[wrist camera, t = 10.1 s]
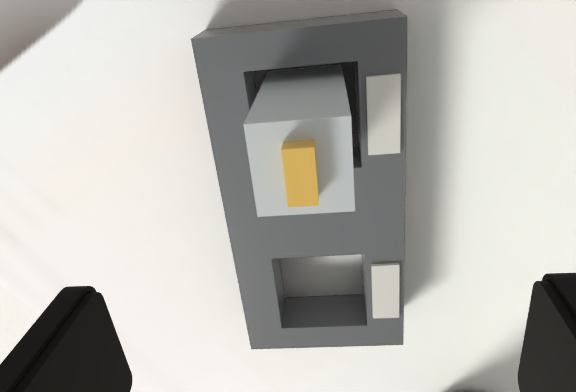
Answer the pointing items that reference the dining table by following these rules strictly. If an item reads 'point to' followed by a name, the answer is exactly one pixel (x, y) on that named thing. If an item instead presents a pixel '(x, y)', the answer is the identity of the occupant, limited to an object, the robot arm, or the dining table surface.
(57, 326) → the robot arm
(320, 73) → the plug
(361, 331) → the panel
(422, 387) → the dining table surface
